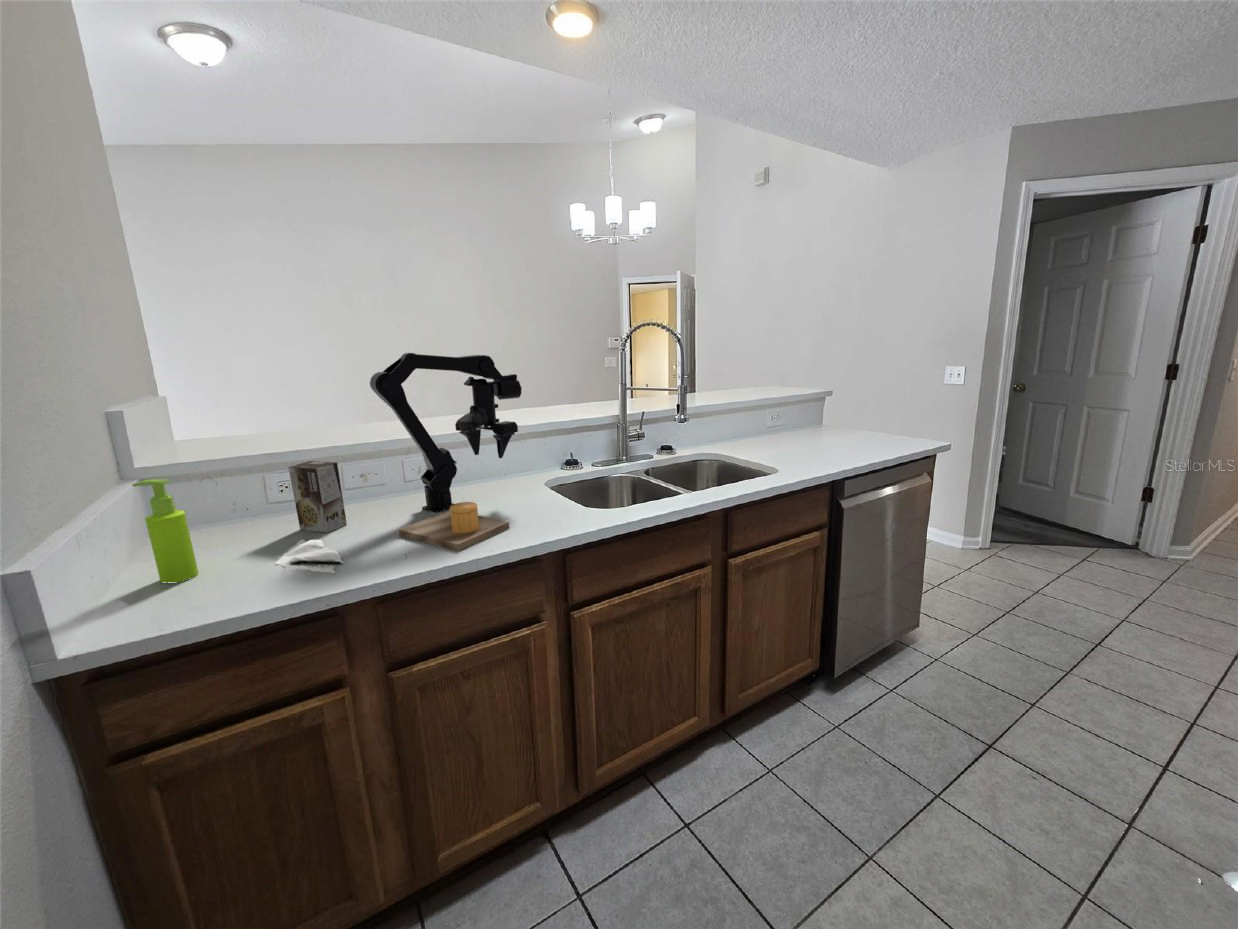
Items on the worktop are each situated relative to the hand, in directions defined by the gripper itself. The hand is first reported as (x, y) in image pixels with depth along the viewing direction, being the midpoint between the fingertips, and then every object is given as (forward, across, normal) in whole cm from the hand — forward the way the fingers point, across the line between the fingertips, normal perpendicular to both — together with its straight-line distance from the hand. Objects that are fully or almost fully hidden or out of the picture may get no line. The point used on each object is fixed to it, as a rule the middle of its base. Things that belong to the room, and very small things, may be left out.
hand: (488, 456), depth 151 cm
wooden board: (+12, +12, -25) cm, 30 cm away
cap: (+10, +16, -25) cm, 31 cm away
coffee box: (+12, -20, -38) cm, 45 cm away
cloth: (+13, -4, -50) cm, 52 cm away
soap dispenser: (+12, -18, -69) cm, 72 cm away
